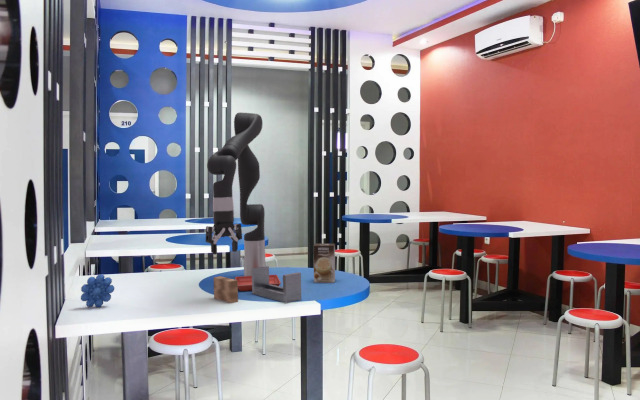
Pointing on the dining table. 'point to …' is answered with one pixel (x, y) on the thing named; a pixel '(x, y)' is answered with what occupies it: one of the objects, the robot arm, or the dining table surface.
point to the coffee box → (324, 263)
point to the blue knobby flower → (97, 290)
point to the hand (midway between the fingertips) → (224, 252)
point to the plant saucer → (246, 282)
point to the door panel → (226, 289)
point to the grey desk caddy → (282, 294)
